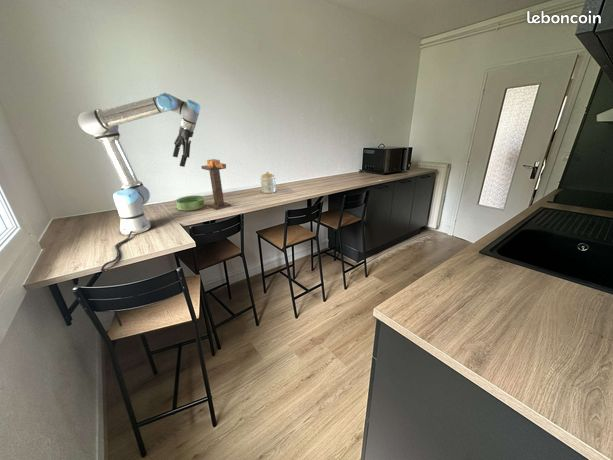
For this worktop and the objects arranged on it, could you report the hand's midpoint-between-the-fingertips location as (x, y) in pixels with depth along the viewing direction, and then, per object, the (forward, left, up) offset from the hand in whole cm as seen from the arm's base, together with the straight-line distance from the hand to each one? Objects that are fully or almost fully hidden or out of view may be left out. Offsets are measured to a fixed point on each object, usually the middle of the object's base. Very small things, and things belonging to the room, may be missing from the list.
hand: (178, 161), depth 156 cm
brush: (+5, -24, -6) cm, 25 cm away
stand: (+10, -22, -36) cm, 44 cm away
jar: (+30, -70, -36) cm, 84 cm away
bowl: (+19, -4, -36) cm, 41 cm away
